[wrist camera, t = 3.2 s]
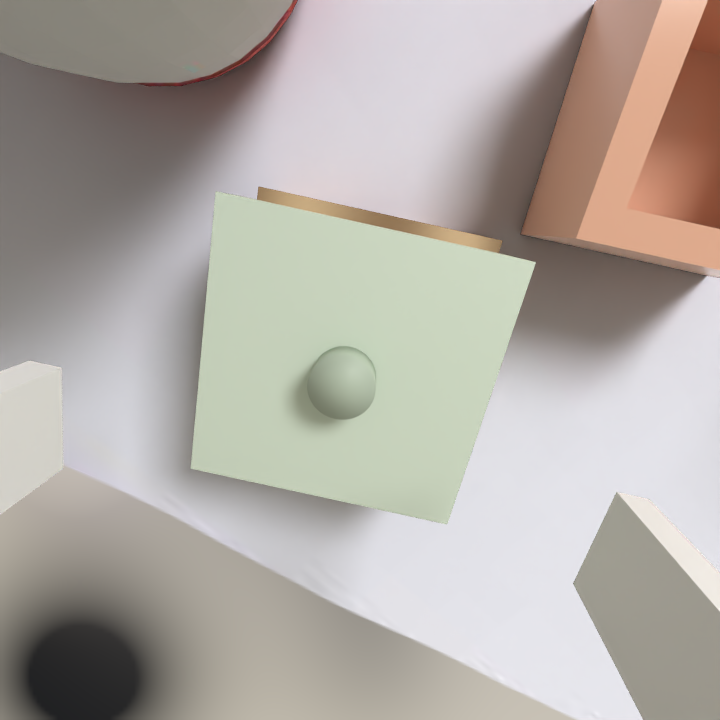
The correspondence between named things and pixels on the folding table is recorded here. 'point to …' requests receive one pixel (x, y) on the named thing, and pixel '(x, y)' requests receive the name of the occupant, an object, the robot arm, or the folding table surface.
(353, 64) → the folding table surface
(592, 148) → the open box
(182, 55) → the citrus juicer
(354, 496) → the lid
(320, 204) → the wooden block
